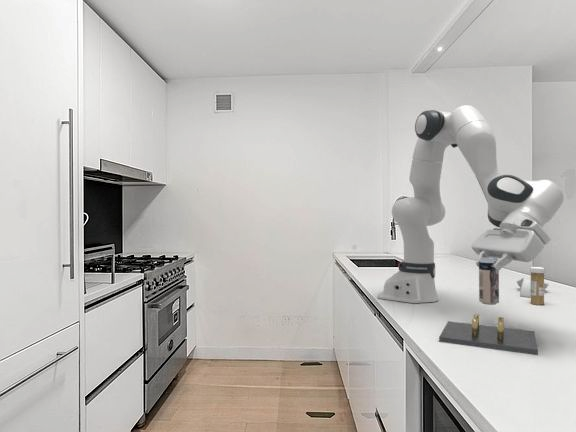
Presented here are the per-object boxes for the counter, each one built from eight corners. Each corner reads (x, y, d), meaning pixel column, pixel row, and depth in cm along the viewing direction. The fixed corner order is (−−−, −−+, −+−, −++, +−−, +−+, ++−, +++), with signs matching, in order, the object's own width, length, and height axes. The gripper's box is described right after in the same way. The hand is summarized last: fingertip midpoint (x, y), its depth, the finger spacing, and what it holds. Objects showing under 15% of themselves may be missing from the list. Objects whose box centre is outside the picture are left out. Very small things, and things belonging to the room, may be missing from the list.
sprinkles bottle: (545, 305, 153) (546, 268, 153) (531, 304, 154) (531, 267, 154) (542, 303, 157) (542, 266, 157) (528, 302, 159) (528, 266, 159)
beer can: (497, 306, 109) (497, 259, 109) (477, 303, 112) (477, 258, 112) (500, 302, 113) (500, 257, 113) (481, 300, 116) (480, 256, 116)
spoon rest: (518, 288, 191) (518, 272, 191) (549, 290, 184) (549, 274, 184) (510, 296, 171) (510, 278, 171) (544, 300, 164) (544, 281, 164)
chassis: (439, 341, 110) (439, 321, 110) (448, 325, 126) (448, 307, 126) (538, 354, 100) (538, 332, 99) (534, 335, 115) (534, 316, 115)
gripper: (485, 220, 124) (455, 255, 122) (541, 222, 104) (506, 263, 102) (498, 235, 125) (468, 270, 123) (556, 240, 105) (522, 281, 103)
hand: (486, 267), depth 112 cm, fingers closed on beer can, 5 cm apart
